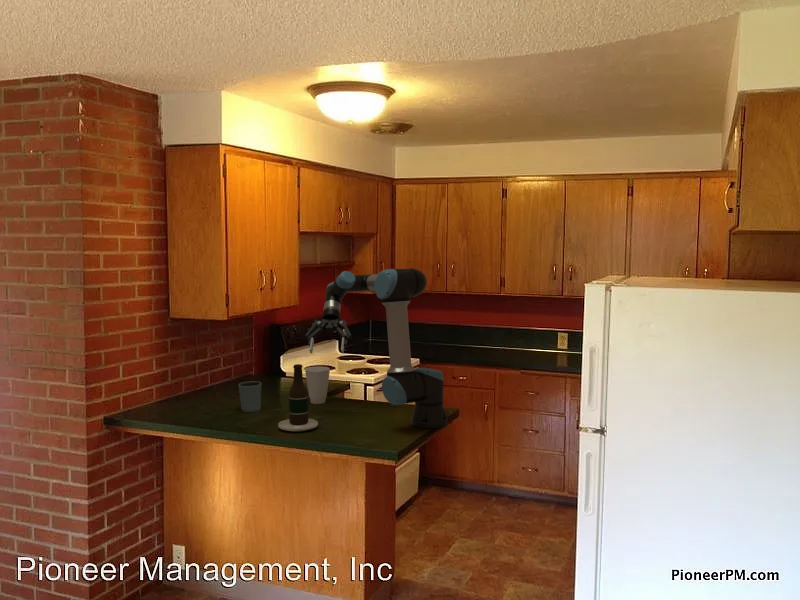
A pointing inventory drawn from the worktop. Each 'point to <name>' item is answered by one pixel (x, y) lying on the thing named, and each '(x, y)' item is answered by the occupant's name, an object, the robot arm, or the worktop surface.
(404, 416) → the worktop surface
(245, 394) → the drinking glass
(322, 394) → the cup
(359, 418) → the worktop surface
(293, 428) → the dish
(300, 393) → the beer bottle
